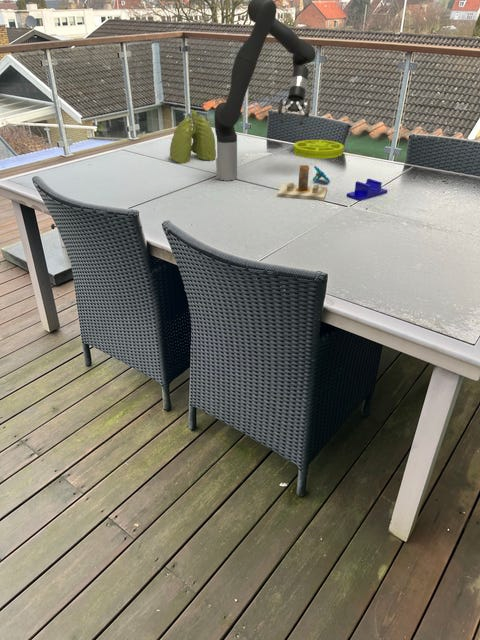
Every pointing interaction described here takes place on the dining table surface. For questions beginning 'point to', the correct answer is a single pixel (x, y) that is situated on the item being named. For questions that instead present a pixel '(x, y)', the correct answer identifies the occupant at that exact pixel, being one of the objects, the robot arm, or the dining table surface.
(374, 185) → the mounting bracket
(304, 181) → the pin
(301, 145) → the pulley
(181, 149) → the lungs
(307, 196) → the plate
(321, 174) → the gear
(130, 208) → the dining table surface
